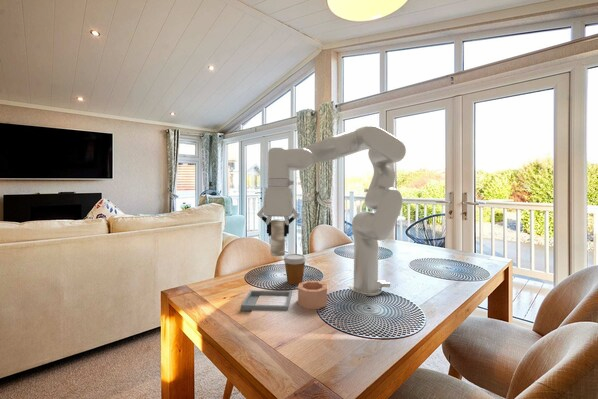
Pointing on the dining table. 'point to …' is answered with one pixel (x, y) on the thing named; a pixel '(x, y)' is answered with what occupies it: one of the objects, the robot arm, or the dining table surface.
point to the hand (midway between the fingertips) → (277, 235)
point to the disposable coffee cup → (294, 268)
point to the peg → (277, 238)
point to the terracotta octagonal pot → (312, 294)
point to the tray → (252, 299)
